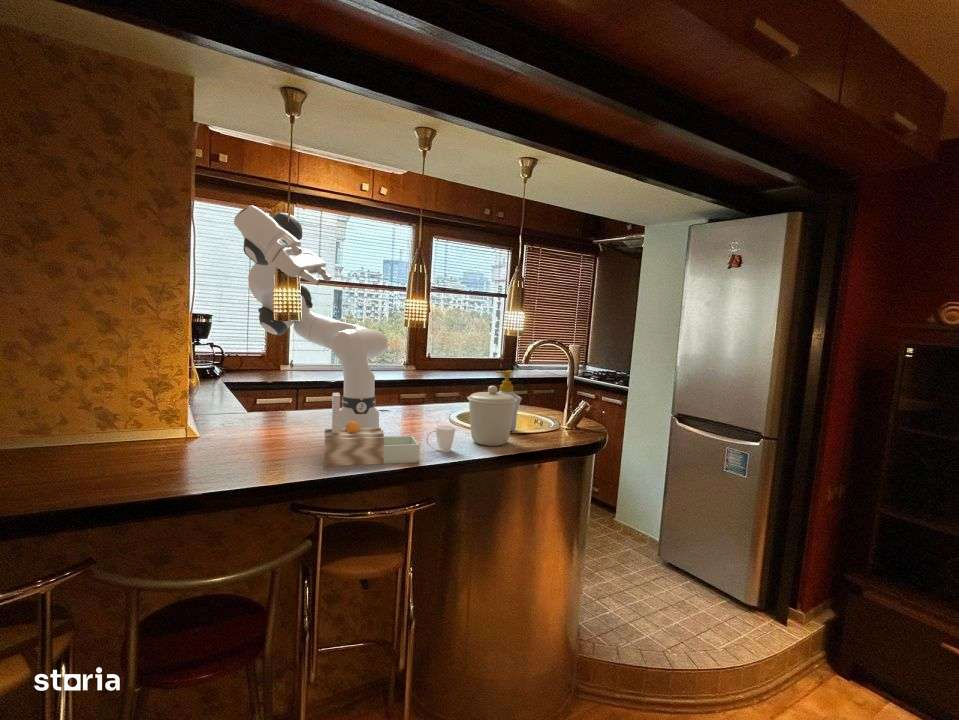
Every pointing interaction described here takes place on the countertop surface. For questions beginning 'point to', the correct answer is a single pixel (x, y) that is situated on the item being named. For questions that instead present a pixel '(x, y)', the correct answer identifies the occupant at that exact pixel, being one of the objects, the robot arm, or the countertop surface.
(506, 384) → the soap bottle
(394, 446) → the pale green open box
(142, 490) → the countertop surface
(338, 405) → the plunger paddle
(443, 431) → the cup
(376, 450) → the chevron patterned box
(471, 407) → the canister
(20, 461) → the countertop surface
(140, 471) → the countertop surface
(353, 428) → the ball
